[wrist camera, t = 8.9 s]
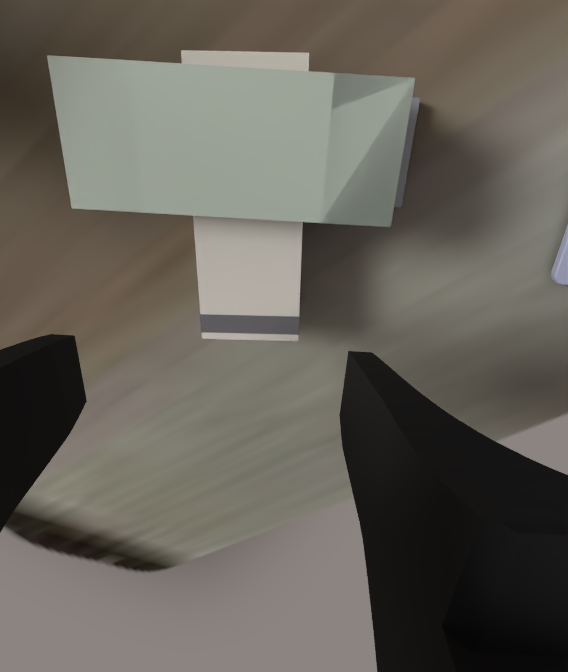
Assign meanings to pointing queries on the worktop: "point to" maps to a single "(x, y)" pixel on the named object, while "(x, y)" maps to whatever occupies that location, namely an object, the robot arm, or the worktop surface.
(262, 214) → the pale green block
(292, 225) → the bar
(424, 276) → the worktop surface
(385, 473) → the robot arm
